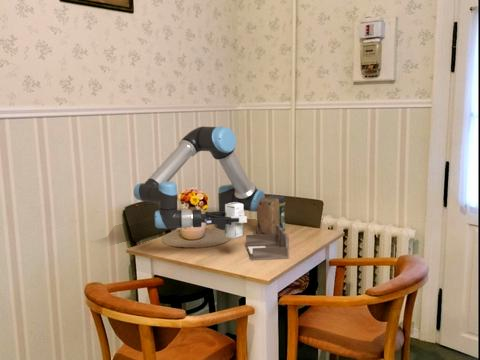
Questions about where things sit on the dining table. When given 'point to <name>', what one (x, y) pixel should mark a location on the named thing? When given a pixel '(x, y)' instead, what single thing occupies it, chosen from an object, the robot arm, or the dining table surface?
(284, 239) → the bay
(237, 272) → the dining table surface
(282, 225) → the coffee jar
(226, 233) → the syrup box
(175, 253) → the dining table surface
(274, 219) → the block
